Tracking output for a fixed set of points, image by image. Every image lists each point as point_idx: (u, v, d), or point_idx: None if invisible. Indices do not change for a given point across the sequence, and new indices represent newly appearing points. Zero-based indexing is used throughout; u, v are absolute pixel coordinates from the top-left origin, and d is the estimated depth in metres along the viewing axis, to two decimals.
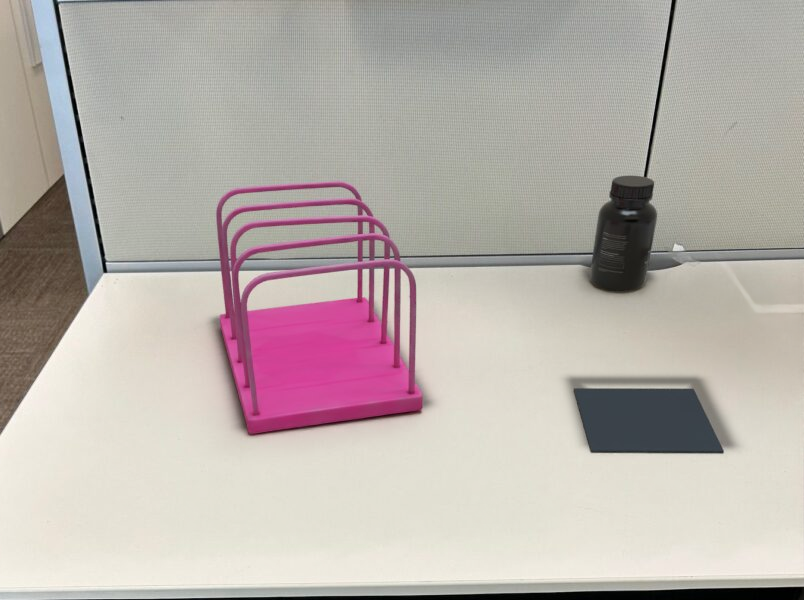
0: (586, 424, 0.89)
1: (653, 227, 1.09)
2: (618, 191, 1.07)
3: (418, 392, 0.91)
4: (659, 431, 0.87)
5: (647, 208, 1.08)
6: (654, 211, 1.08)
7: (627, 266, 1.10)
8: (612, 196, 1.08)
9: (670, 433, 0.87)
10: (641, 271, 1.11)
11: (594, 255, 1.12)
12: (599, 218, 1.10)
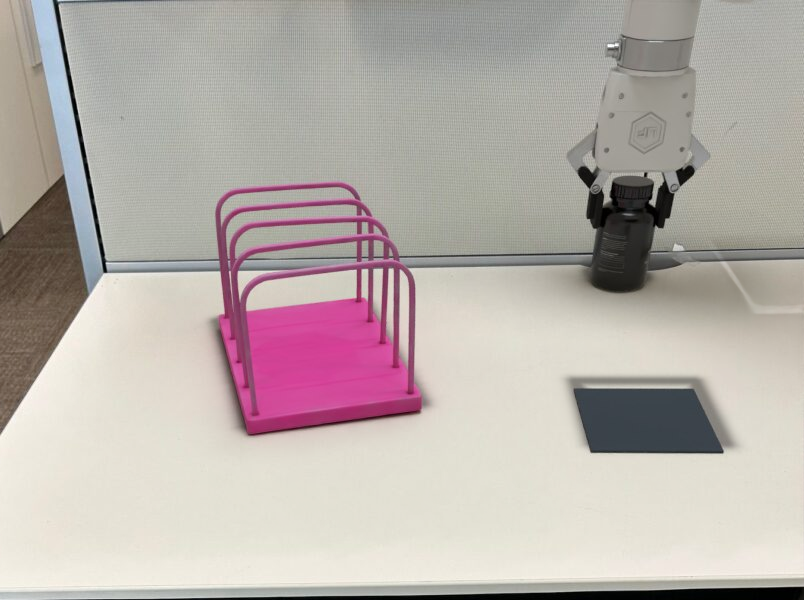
0: (586, 424, 0.89)
1: (653, 227, 1.09)
2: (618, 191, 1.07)
3: (417, 393, 0.91)
4: (659, 431, 0.87)
5: (647, 208, 1.08)
6: (654, 211, 1.08)
7: (627, 266, 1.10)
8: (612, 196, 1.08)
9: (670, 433, 0.87)
10: (641, 271, 1.11)
11: (594, 255, 1.12)
12: None
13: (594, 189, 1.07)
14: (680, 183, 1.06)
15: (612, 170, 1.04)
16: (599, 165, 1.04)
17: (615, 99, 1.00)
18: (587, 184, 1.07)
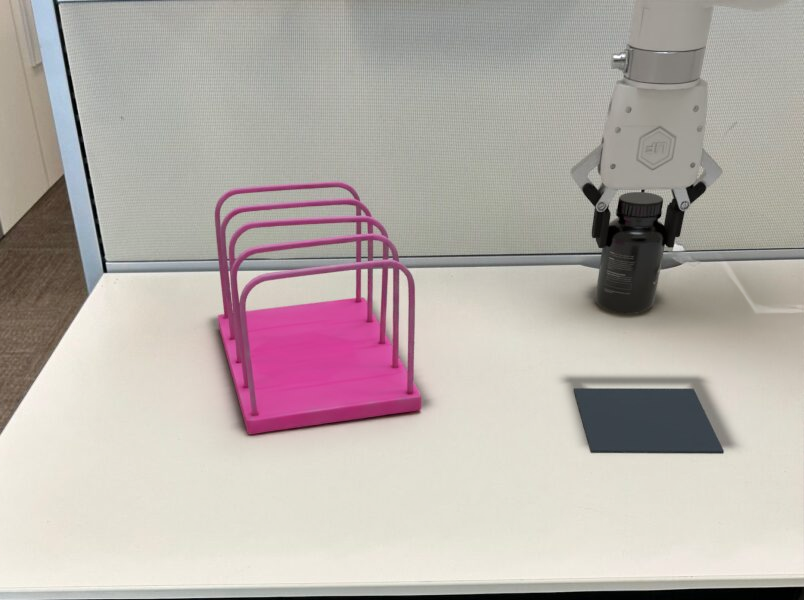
0: (586, 424, 0.89)
1: (662, 246, 1.03)
2: (625, 209, 1.01)
3: (417, 393, 0.91)
4: (659, 431, 0.87)
5: (656, 226, 1.02)
6: (663, 229, 1.03)
7: (635, 287, 1.05)
8: (618, 214, 1.02)
9: (670, 433, 0.87)
10: (649, 292, 1.06)
11: (600, 275, 1.07)
12: None
13: (600, 207, 1.02)
14: (691, 200, 1.01)
15: (619, 187, 0.99)
16: (605, 182, 0.99)
17: (622, 113, 0.94)
18: (592, 202, 1.02)
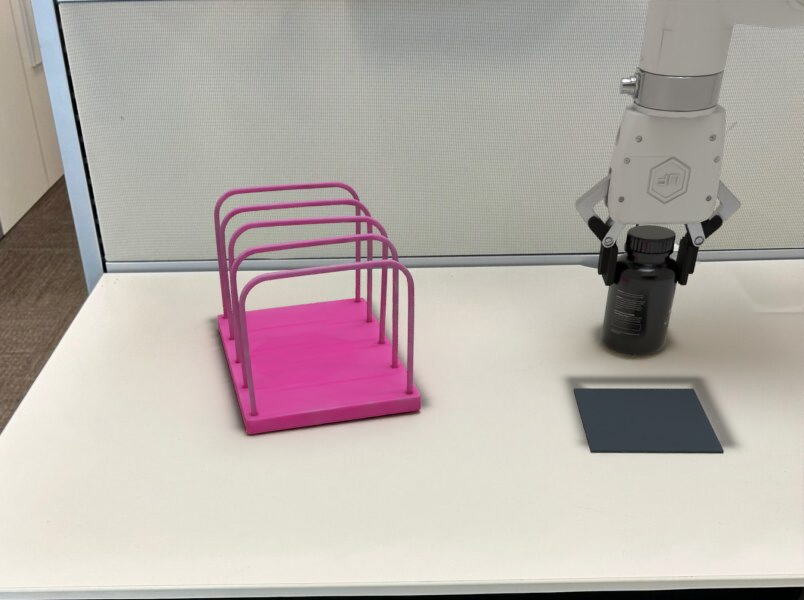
0: (586, 424, 0.89)
1: (674, 284, 0.95)
2: (634, 244, 0.93)
3: (416, 393, 0.91)
4: (659, 431, 0.87)
5: (668, 263, 0.94)
6: (675, 266, 0.94)
7: (644, 328, 0.97)
8: (627, 250, 0.94)
9: (670, 433, 0.87)
10: (660, 333, 0.98)
11: (606, 314, 0.99)
12: None
13: (607, 242, 0.93)
14: (706, 235, 0.93)
15: (628, 222, 0.90)
16: (612, 216, 0.90)
17: (631, 142, 0.86)
18: (599, 236, 0.93)
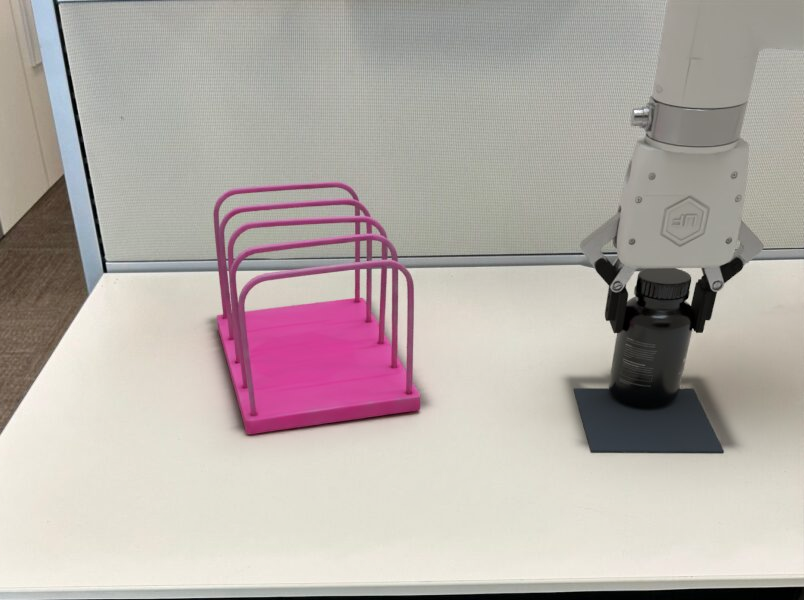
0: (586, 424, 0.89)
1: (689, 332, 0.86)
2: (646, 289, 0.85)
3: (416, 393, 0.91)
4: (659, 431, 0.87)
5: (683, 309, 0.85)
6: (691, 312, 0.86)
7: (656, 379, 0.88)
8: (638, 295, 0.86)
9: (670, 433, 0.87)
10: (673, 384, 0.89)
11: (614, 363, 0.90)
12: None
13: (615, 287, 0.85)
14: (724, 279, 0.84)
15: (639, 266, 0.82)
16: (622, 259, 0.82)
17: (644, 180, 0.77)
18: (607, 280, 0.85)
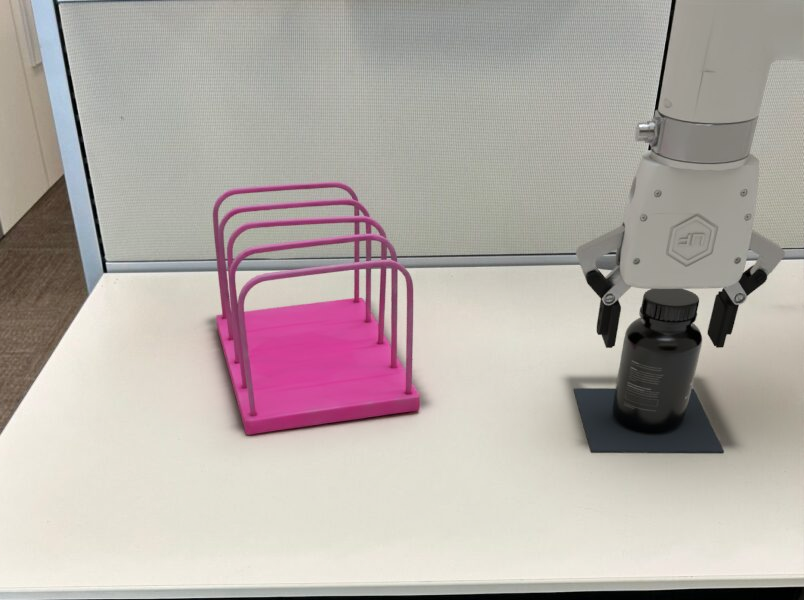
0: (586, 424, 0.89)
1: (697, 355, 0.83)
2: (652, 311, 0.81)
3: (415, 393, 0.91)
4: None
5: (690, 331, 0.82)
6: (698, 335, 0.83)
7: (662, 404, 0.85)
8: (643, 316, 0.82)
9: (670, 433, 0.87)
10: (680, 409, 0.86)
11: (619, 386, 0.87)
12: (626, 342, 0.84)
13: (607, 299, 0.81)
14: (747, 292, 0.80)
15: (643, 286, 0.78)
16: (626, 279, 0.78)
17: (649, 197, 0.74)
18: (598, 293, 0.81)
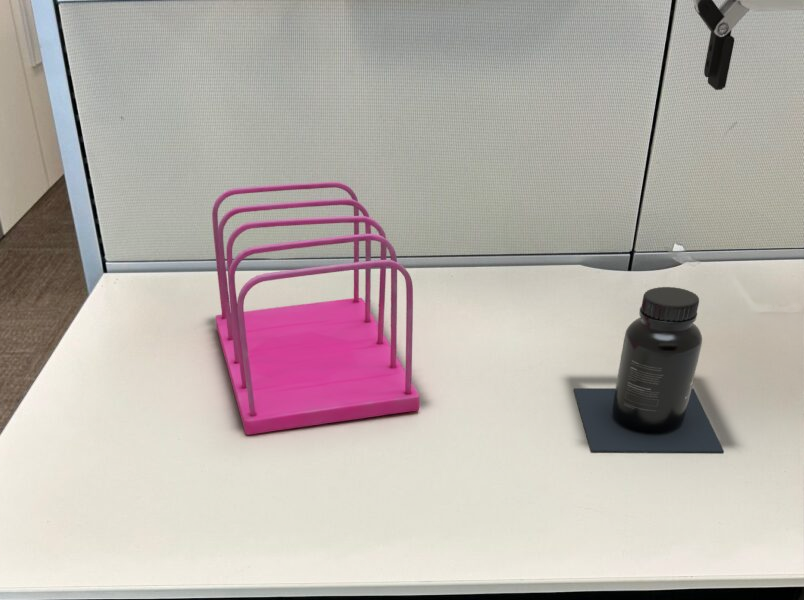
0: (586, 424, 0.89)
1: (697, 355, 0.83)
2: (652, 311, 0.81)
3: (415, 393, 0.91)
4: None
5: (690, 331, 0.82)
6: (698, 335, 0.83)
7: (662, 404, 0.85)
8: (643, 316, 0.82)
9: (670, 433, 0.87)
10: (680, 409, 0.86)
11: (619, 386, 0.87)
12: (626, 342, 0.84)
13: (720, 30, 0.77)
14: None
15: (762, 7, 0.75)
16: (743, 0, 0.75)
17: None
18: (710, 23, 0.77)
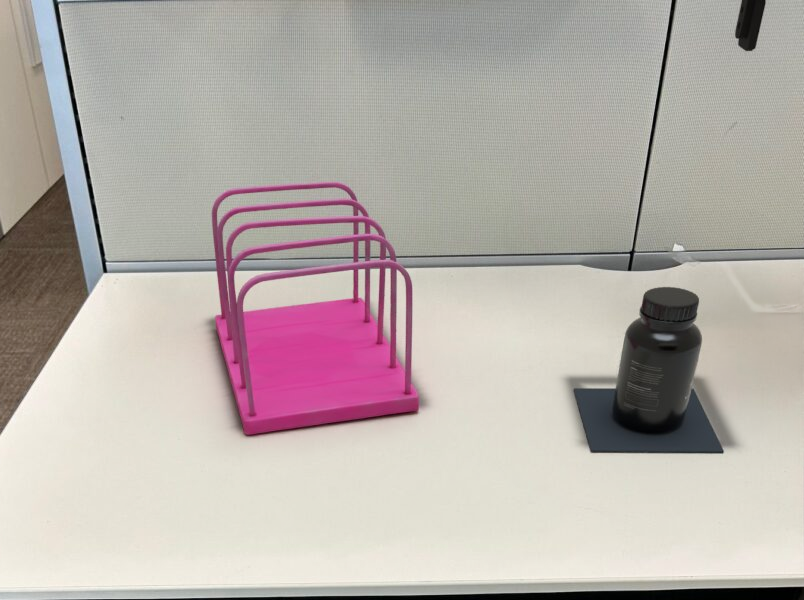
0: (586, 424, 0.89)
1: (697, 355, 0.83)
2: (652, 311, 0.81)
3: (415, 393, 0.91)
4: None
5: (690, 331, 0.82)
6: (698, 335, 0.83)
7: (662, 404, 0.85)
8: (643, 316, 0.82)
9: (670, 433, 0.87)
10: (680, 409, 0.86)
11: (619, 386, 0.87)
12: (626, 342, 0.84)
13: None
14: None
15: None
16: None
17: None
18: None
